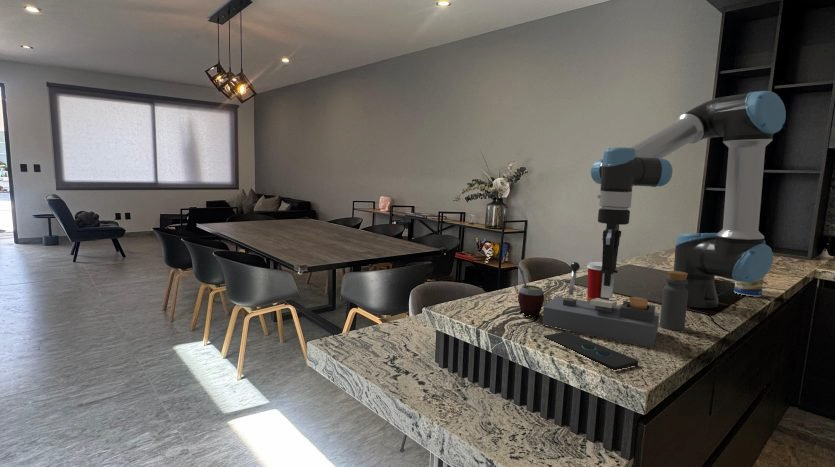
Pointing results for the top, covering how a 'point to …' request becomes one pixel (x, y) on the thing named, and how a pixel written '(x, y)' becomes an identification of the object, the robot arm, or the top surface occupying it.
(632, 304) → the push button
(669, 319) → the bottle
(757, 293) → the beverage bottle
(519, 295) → the mate gourd
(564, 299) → the console
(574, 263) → the toggle lever
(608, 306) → the plate
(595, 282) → the paper cup
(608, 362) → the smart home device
